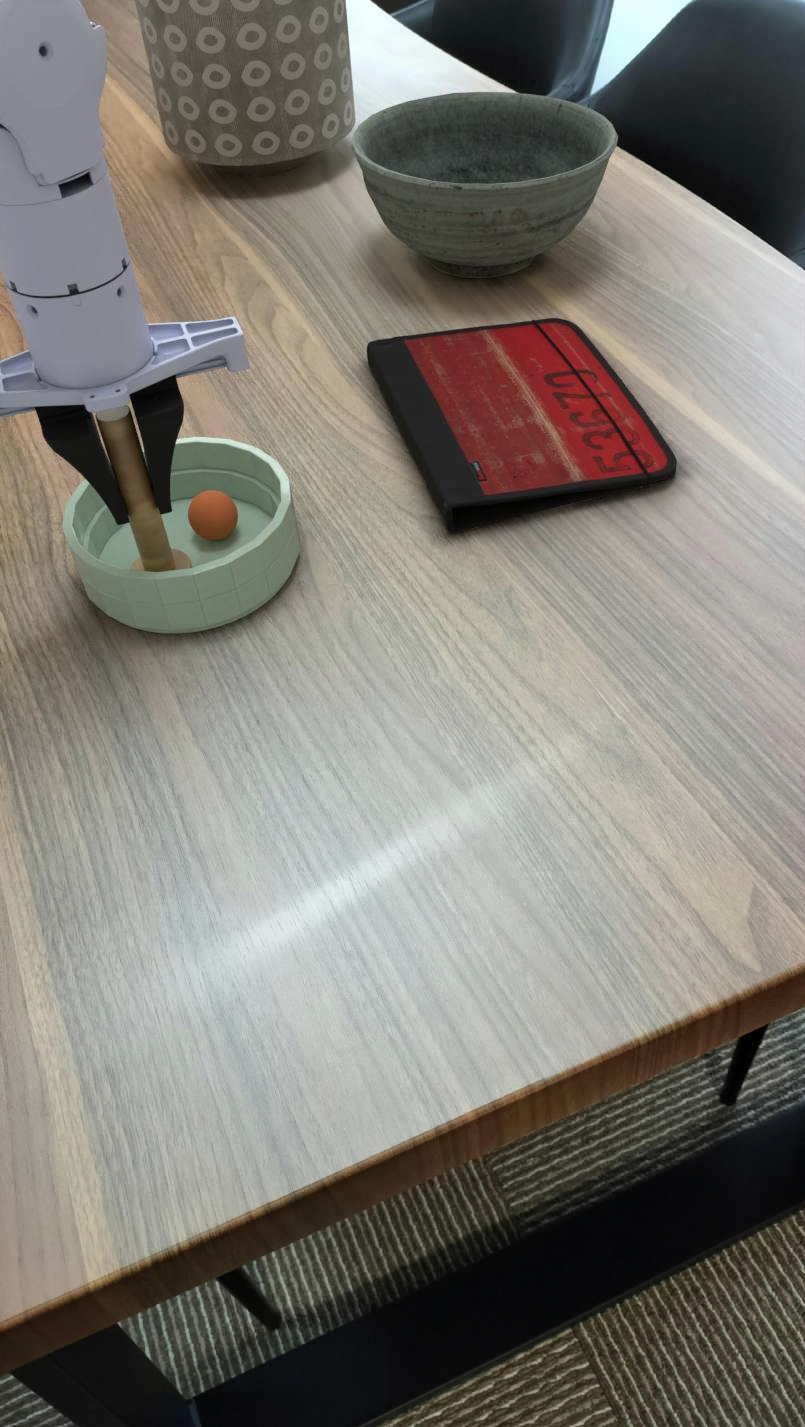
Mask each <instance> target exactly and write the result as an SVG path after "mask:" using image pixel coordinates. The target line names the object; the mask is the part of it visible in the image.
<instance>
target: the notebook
mask: <svg viewBox="0 0 805 1427" xmlns="http://www.w3.org/2000/svg"><path fill="white" fill-rule="evenodd" d="M366 358H367V364H368V367H369V369H370V371H371V373H372V374H373V377H374V379H375V381H376V384H377V385H378V388H379V390H380V392H381V394H382V397H383V399H384V401H385V403H386V405H387V407H388V409H389V411H390V413H391V415H392V418H393V420H394V422H395V424H396V426H397V429H398V430H399V432H400V434H401V437H402V438H403V441H404V444H405V445H406V447H407V449H408V451H409V452H410V455H411V456H412V459H413V461H414V463H415V465H416V467H417V468H418V469H417V470H418V471H419V473H420V476H421V477H422V479H423V481H424V484H425V486H426V488H427V489H428V492H429V494H430V496H431V498H432V500H433V502H434V504H435V506H436V508H437V510H438V512H439V514H440V516H441V518H442V520H443V522H444V525H445V528H446V530H447V532H448V533H449V534H457V533H460V532H465V531H468V530H473V529H477V528H480V527H484V526H489V525H492V524H496V523H498V522H499V523H500V522H503V521H507V520H510V519H514V518H515V519H516V518H519V517H523V516H528V515H532V514H536V513H540V512H544V511H548V510H552V509H556V508H560V507H565V506H569V505H573V504H578V503H582V502H587V501H590V500H594V499H599V498H602V497H607V496H611V495H615V494H619V493H624V492H628V491H633V490H638V489H641V488H648V487H650V486H653V485H658V484H661V483H665V482H667V481H670V480H671V479H672V478H673V477H674V476H675V475H676V473H677V464H678V459H677V457H676V455H675V453H674V452H673V450H672V449H671V447H670V445H669V444H668V443H667V441H666V440H665V438H664V437H663V435H662V434H661V433H660V430H659V429H658V428H657V426H656V424H655V423H654V421H653V420H652V419H651V418H650V416H649V415H648V413H647V412H646V410H645V409H644V408H643V406H642V405H641V404H640V403H639V401H638V400H637V398H636V397H635V395H633V393H632V392H631V390H630V389H629V388H628V386H627V385H626V384H625V382H624V381H623V380H622V379H621V377H620V376H619V375H618V373H616V372H617V371H615V369H614V368H613V367H612V366H611V365H610V363H609V362H608V360H607V359H606V358H605V357H604V355H603V353H602V352H600V351H599V349H598V348H597V347H596V345H595V344H594V343H593V341H591V340H590V338H589V337H588V335H587V334H586V333H585V332H584V331H583V330H582V328H580V327H579V325H577V324H575V323H574V322H573V321H570V320H568V319H563V318H558V317H548V318H540V319H539V318H538V319H531V320H525V321H518V322H510V323H509V322H508V323H499V324H490V325H479V326H471V327H462V328H455V329H448V330H439V331H432V332H425V333H417V334H416V333H415V334H409V335H399V336H398V335H397V336H393V337H389V338H381V339H376V340H371V341H369V342H367V346H366Z"/></svg>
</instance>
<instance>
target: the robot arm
mask: <svg viewBox="0 0 805 1427" xmlns="http://www.w3.org/2000/svg"><path fill="white" fill-rule="evenodd" d="M107 70H108V46H107V37H106V33H105V28H104V26H102V25H100V24H98V25H96V23H95V22H93V21H91V20H90V18H89V14H88V12H87V9H86V7H85V5H84V2H83V1H82V0H0V274H1V276H2V278H3V281H4V284H5V287H6V290H7V293H8V295H9V298H10V301H11V304H12V306H13V309H14V312H15V315H16V317H17V321H18V323H19V326H20V328H21V332H22V334H23V337H24V340H25V343H26V345H27V350H24V351H22V352H19V353H17V354H14V355H12V356H10V357H7V358H5V359H2V360H0V419H4V418H8V417H13V416H16V415H21V414H26V413H30V412H34V411H35V413H36V415H37V418H38V422H39V425H40V427H41V433H42V437H43V439H44V441H45V442H46V444H47V445H48V447H50V449H51V450H52V451H53V453H55V454H57V455H58V456H59V457H61V459H63V460H64V461H66V462H67V463H68V464H69V465H70V466H71V467H72V468H74V469H75V470H76V471H77V473H79V474H80V475H81V476H82V477H83V479H84V480H85V479H86V480H87V481H88V482H89V483H90V485H91V486H92V487H93V488H94V489H95V490H96V492H97V493H98V494H99V496H100V497H101V498H102V500H103V501H104V503H105V504H106V505H107V507H108V509H109V510H110V512H111V514H112V515H113V517H114V519H115V521H116V524H117V525H122V524H126V523H130V522H129V518H128V514H127V511H126V508H125V505H124V502H123V499H122V497H121V494H120V492H119V489H118V486H117V483H116V480H115V477H114V473H113V470H112V467H111V465H110V462H109V458H108V455H107V452H106V449H105V447H104V446H103V445H104V444H103V441H102V438H101V435H100V432H99V428H98V427H97V426H98V425H97V422H96V419H95V416H94V414H96V413H97V412H102V411H107V410H111V409H115V408H120V407H123V406H126V405H127V406H128V404H130V403H131V407H132V410H133V413H134V417H135V420H136V423H137V427H138V431H139V434H140V438H141V442H142V447H143V448H144V453H145V458H146V464H147V468H148V472H149V475H150V478H151V482H152V486H153V491H154V495H155V498H156V502H157V505H158V509H159V512H160V515H162V514H166V513H170V512H172V506H171V497H170V477H171V466H172V459H173V453H174V449H175V444H176V441H177V439H178V437H179V433H180V431H181V428H182V425H183V423H184V416H185V403H184V399H183V396H182V392H181V390H180V388H179V384H178V379H179V378H185V377H189V376H193V375H198V374H202V373H206V372H210V371H215V370H219V369H223V368H226V369H227V371H228V372H230V373H236V372H242V371H245V370H249V369H250V361H249V355H248V351H247V346H246V345H247V344H246V340H245V335H244V332H243V329H242V328H241V326H240V324H239V322H238V320H237V317H236V316H229V317H224V318H217V319H210V320H198V321H179V322H153V323H148V321H147V317H146V314H145V313H146V312H145V309H144V305H143V301H142V298H141V295H140V291H139V287H138V282H137V279H136V275H135V270H134V268H133V263H132V259H131V256H130V251H129V248H128V244H127V240H126V235H125V233H124V227H123V223H122V220H121V216H120V212H119V208H118V204H117V201H116V197H115V194H114V189H113V185H112V182H111V178H110V174H109V169H108V166H107V162H106V159H105V155H104V151H103V148H105V147H106V146H107V144H106V141H105V136H104V133H103V128H102V125H101V120H100V103H101V97H102V94H103V91H104V87H105V83H106V78H107V72H108V71H107Z"/></svg>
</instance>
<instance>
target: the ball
mask: <svg viewBox="0 0 805 1427" xmlns="http://www.w3.org/2000/svg"><path fill="white" fill-rule="evenodd" d="M188 520H189V523H190V525H191V527H192V529H193V530H194V532H195V533H196V534H198V535H199V536H200V537H202V538H204V539H207V540H220V539H223V538H225V537H227V536H228V535H230V534H231V533H232V532H233V530H234V529H235V527H236V524H237V521H238V512H237V508H236V505H235V503H234V502H233V500H232V499H231V498H230V497H229V496H228V495H226V494H225V493H222V492H220V491H216V490H209V491H204V492H202V493H200V494H198V495H197V496H196V497H195V498H194V499H193V500H192V502H191V504H190V506H189V509H188Z"/></svg>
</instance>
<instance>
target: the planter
mask: <svg viewBox="0 0 805 1427" xmlns="http://www.w3.org/2000/svg"><path fill="white" fill-rule="evenodd" d="M134 4H135V9H136V14H137V18H138V23H139V27H140V33H141V37H142V41H143V46H144V50H145V51H144V52H145V56H146V60H147V64H148V70H149V75H150V78H151V84H152V89H153V94H154V97H155V103H156V107H157V113H158V117H159V121H160V126H161V131H162V135H163V140H164V143H165V145H166V147H167V148H168V149H169V150H170V151H171V153H173V154H175V155H177V156H179V157H181V158H182V159H183V158H184V159H186V160H188V161H192V162H195V163H199V164H204V165H205V164H206V165H208V166H210V167H212V168H215V169H217V170H220V171H223V172H225V173H226V172H227V173H231V174H235V175H241V176H251V177H254V176H270V175H275V174H280V173H283V172H287V171H290V170H293V169H295V168H297V167H299V166H301V165H302V164H305V163H307V162H308V161H310V160H312V159H313V158H315V157H316V156H317V155H319V154H320V153H321V152H323V151H324V150H326V149H328V148H329V147H332V146H334V145H335V144H338V143H339V142H341V141H343V140H344V139H345V138H346V137H348V136H349V134H350V133H351V132H352V130H354V127H355V125H356V108H355V96H354V94H355V93H354V84H353V83H354V82H353V72H352V60H351V48H350V36H349V35H350V34H349V22H348V11H347V0H134Z"/></svg>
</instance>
